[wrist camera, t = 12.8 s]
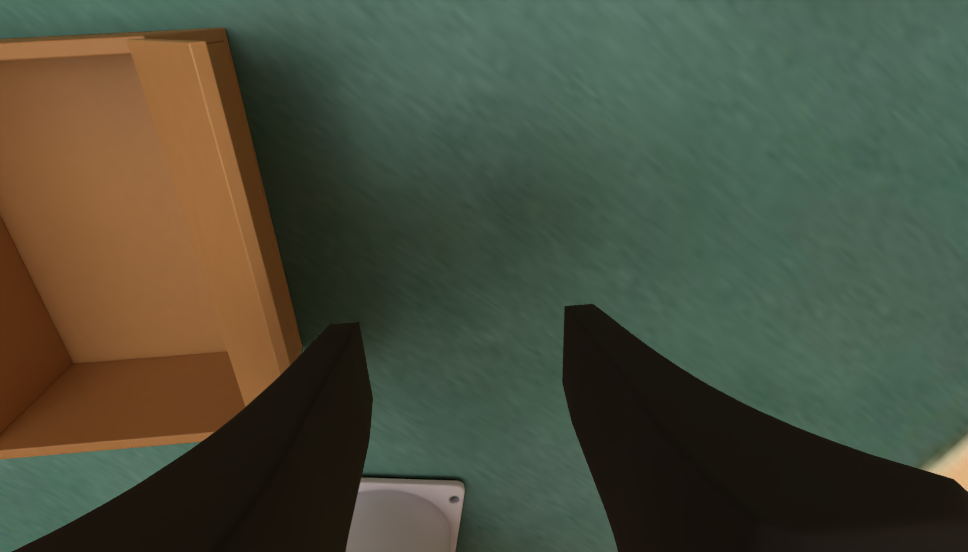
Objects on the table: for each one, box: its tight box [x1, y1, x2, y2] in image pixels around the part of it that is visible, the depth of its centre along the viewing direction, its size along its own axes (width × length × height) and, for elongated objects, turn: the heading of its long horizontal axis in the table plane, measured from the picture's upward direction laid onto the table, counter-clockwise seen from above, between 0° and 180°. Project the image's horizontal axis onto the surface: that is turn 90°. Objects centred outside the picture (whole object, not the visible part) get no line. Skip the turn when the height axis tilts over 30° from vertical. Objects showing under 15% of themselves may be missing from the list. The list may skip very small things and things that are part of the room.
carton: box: [0, 28, 303, 459], centre depth 18 cm, size 10×13×5 cm
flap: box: [127, 38, 291, 407], centre depth 13 cm, size 5×13×1 cm
